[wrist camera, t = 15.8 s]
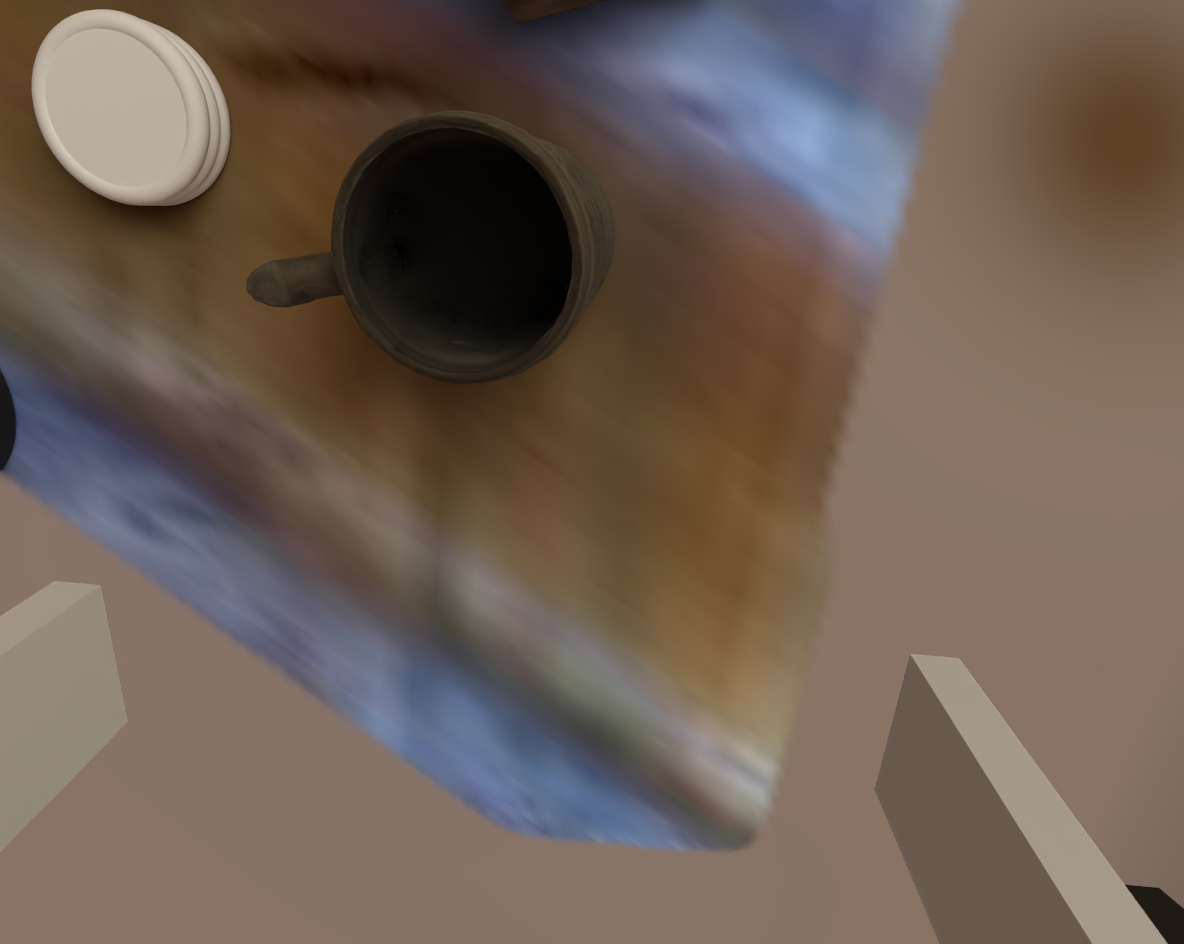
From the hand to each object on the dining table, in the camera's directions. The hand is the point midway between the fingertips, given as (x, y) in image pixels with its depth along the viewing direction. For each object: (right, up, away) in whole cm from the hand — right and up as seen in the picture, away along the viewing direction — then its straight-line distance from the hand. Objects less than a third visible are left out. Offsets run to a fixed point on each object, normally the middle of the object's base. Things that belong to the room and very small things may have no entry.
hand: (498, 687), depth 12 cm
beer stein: (-5, +18, +33) cm, 38 cm away
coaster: (-25, +25, +32) cm, 48 cm away
